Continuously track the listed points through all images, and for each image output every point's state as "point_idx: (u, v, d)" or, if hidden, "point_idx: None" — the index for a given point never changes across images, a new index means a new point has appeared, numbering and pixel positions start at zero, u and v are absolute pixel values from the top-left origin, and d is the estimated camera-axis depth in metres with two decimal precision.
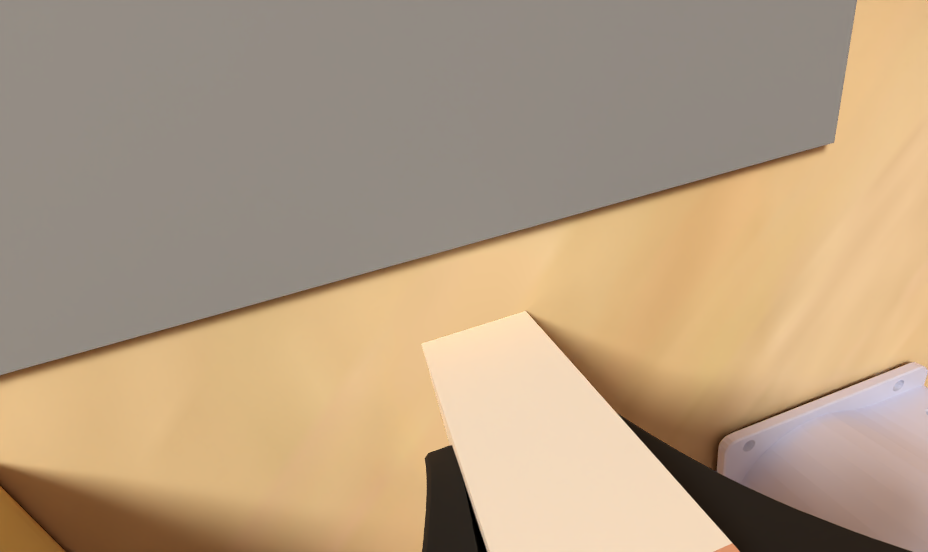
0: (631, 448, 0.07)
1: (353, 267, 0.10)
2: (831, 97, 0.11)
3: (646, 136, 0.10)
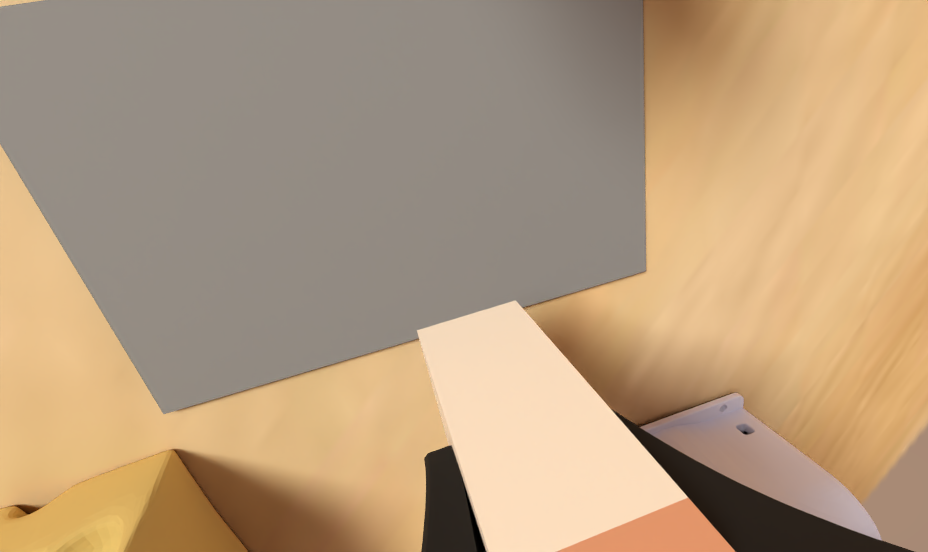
0: (605, 420, 0.08)
1: (369, 348, 0.19)
2: (639, 248, 0.20)
3: (529, 276, 0.19)
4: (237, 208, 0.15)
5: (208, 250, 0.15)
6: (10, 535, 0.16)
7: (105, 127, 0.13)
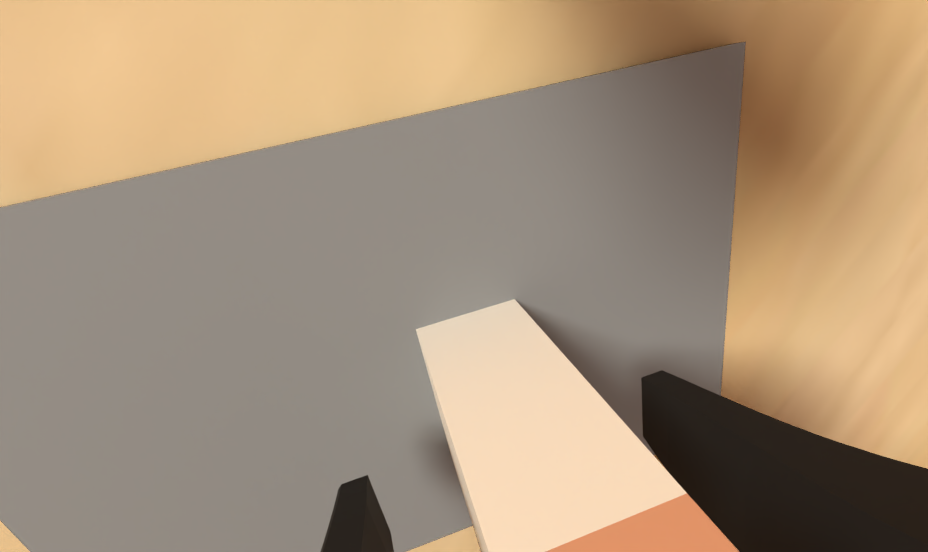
0: (604, 417, 0.08)
1: None
2: None
3: None
4: (219, 432, 0.12)
5: (183, 482, 0.12)
6: None
7: (35, 364, 0.10)
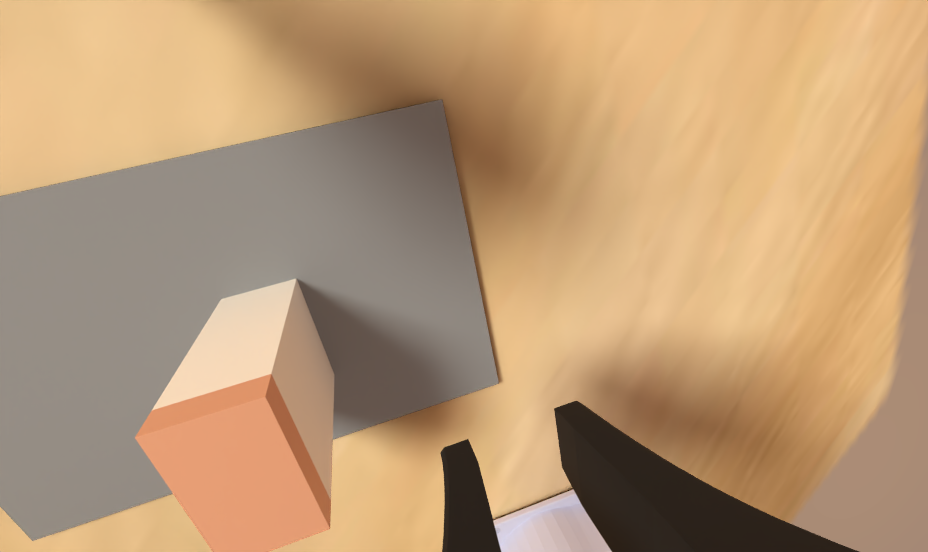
0: (272, 342, 0.13)
1: None
2: (488, 366, 0.22)
3: (380, 398, 0.21)
4: (80, 369, 0.17)
5: (56, 405, 0.17)
6: None
7: None
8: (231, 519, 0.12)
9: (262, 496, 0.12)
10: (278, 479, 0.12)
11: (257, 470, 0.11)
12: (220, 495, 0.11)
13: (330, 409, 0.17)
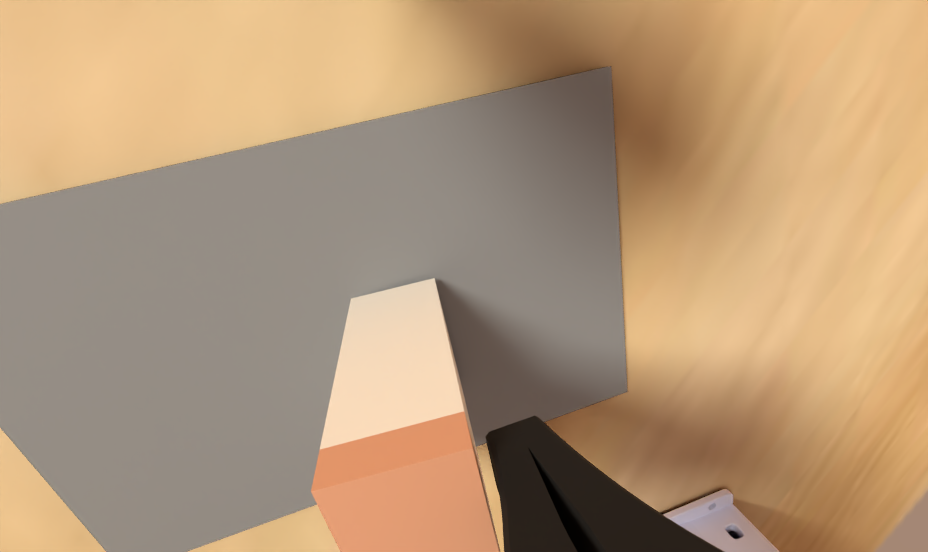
0: (443, 363, 0.10)
1: None
2: (619, 372, 0.20)
3: (504, 409, 0.19)
4: (192, 380, 0.15)
5: (163, 422, 0.15)
6: None
7: (45, 321, 0.13)
8: None
9: None
10: (466, 546, 0.09)
11: (445, 535, 0.09)
12: None
13: None
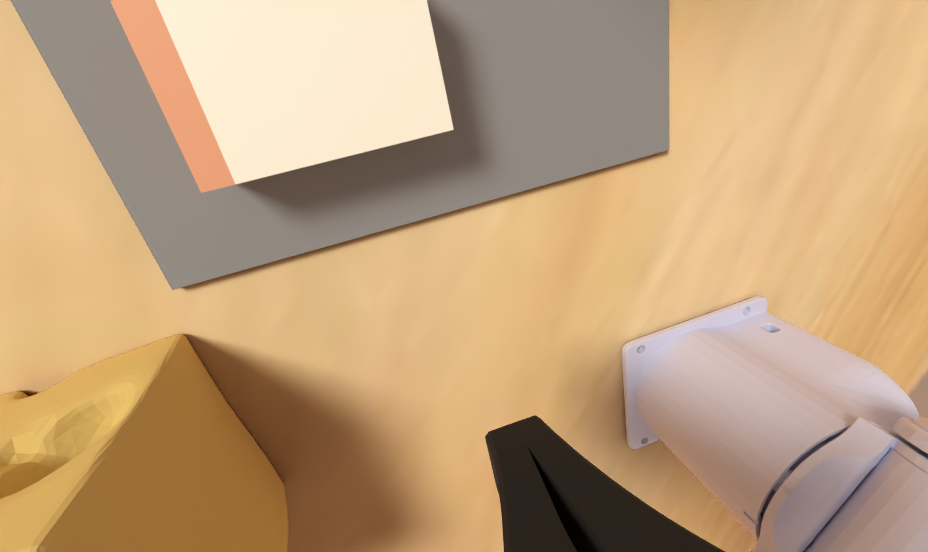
0: None
1: (385, 224, 0.18)
2: (662, 123, 0.19)
3: (549, 149, 0.18)
4: None
5: None
6: (16, 409, 0.15)
7: None
8: None
9: None
10: None
11: None
12: None
13: (363, 140, 0.14)
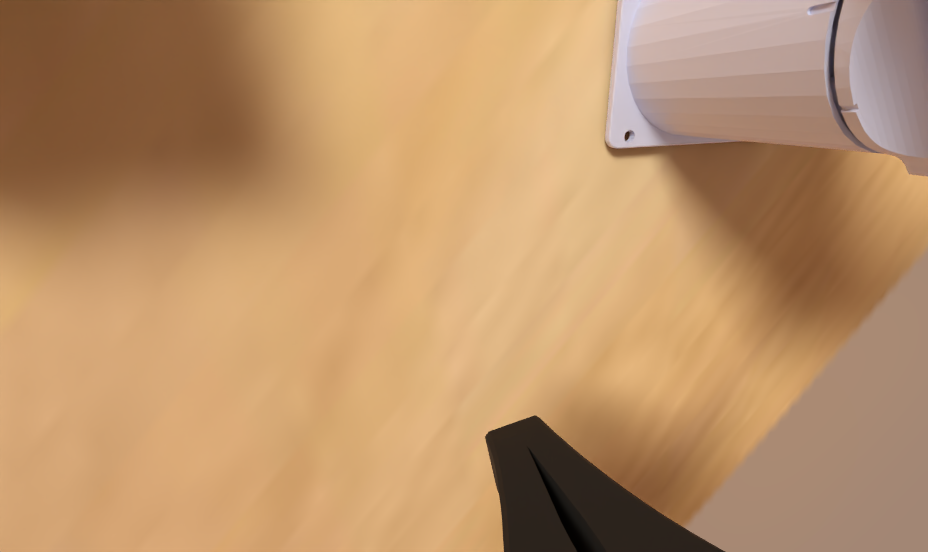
0: None
1: None
2: None
3: None
4: None
5: None
6: None
7: None
8: None
9: None
10: None
11: None
12: None
13: None
